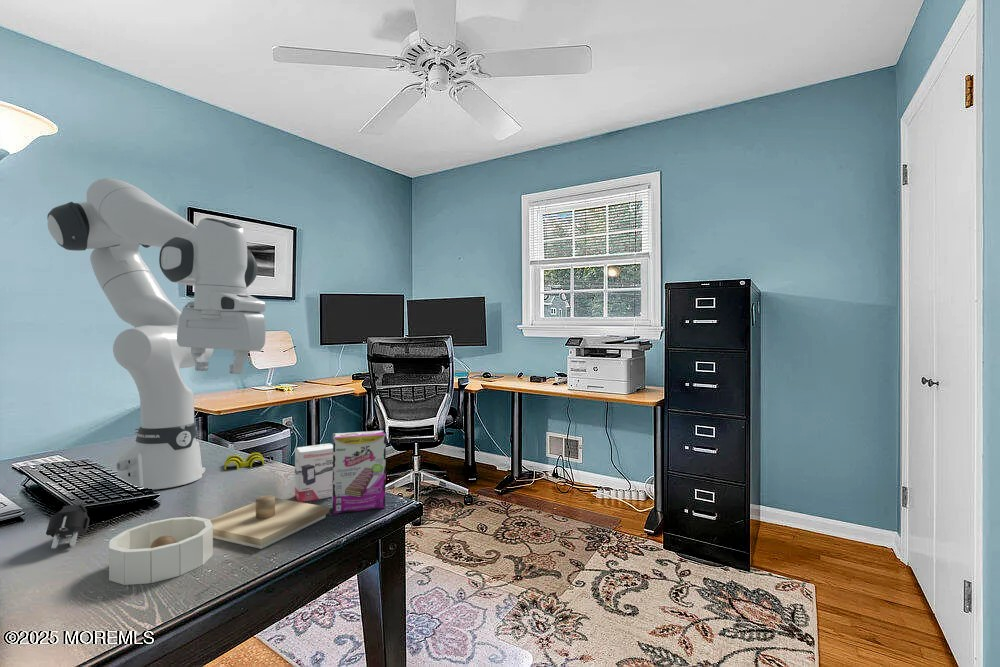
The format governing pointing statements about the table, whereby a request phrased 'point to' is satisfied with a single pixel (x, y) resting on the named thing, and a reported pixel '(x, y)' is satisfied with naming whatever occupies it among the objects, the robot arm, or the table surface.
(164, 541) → the walnut
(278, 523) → the lid
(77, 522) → the power plug
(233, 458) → the opera glasses
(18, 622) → the table surface
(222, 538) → the mat
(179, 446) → the robot arm
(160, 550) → the bowl
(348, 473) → the candy bar box
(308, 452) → the ink box
